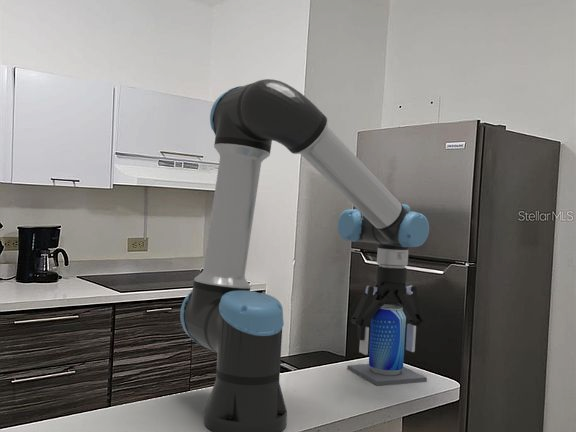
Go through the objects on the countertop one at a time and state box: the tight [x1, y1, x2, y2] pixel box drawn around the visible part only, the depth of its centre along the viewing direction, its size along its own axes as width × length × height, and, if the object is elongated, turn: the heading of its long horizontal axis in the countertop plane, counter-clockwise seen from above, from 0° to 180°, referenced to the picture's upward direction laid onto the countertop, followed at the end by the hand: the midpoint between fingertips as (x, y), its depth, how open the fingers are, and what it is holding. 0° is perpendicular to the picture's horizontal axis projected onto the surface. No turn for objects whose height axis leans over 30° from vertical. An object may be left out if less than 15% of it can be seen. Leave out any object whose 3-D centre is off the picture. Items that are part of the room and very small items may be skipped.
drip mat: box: [346, 363, 428, 387], centre depth 145 cm, size 14×14×1 cm
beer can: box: [368, 304, 407, 375], centre depth 145 cm, size 8×8×16 cm
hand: (387, 352), depth 145 cm, fingers open, 13 cm apart
